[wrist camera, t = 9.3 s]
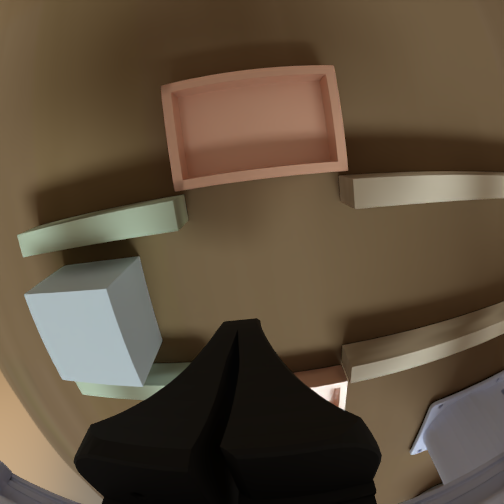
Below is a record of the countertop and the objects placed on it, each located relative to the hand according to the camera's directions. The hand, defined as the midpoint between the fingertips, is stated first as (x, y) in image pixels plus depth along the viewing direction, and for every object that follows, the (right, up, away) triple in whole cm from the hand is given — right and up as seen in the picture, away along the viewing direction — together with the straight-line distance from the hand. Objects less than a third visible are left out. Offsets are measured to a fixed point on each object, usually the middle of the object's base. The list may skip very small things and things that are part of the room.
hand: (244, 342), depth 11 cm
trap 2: (0, +9, +1) cm, 9 cm away
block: (-7, +1, +4) cm, 9 cm away
